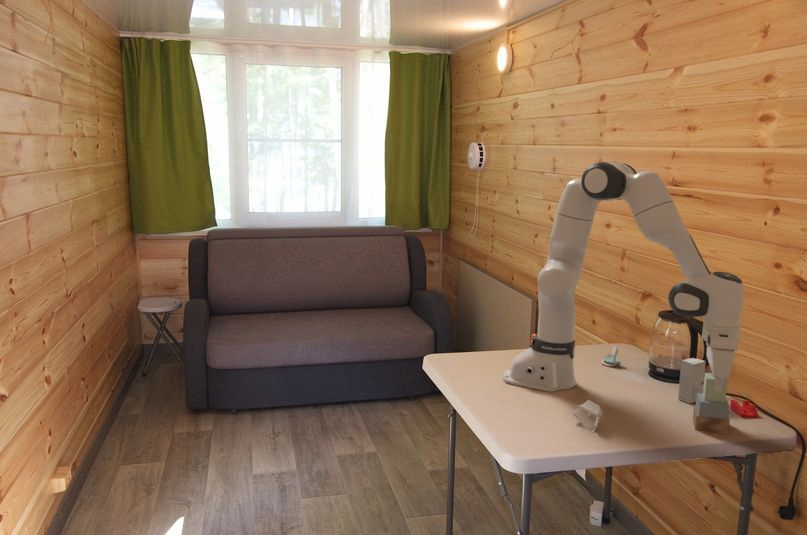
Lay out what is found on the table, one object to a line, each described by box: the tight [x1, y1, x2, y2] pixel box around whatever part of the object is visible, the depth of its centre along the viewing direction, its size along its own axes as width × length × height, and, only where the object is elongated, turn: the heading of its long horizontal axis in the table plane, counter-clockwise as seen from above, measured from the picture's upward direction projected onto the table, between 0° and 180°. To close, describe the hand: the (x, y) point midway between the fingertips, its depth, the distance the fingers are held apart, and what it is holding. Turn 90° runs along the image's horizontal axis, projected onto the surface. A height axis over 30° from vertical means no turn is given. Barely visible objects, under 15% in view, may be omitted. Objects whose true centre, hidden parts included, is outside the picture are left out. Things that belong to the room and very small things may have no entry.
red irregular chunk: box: [729, 399, 759, 419], centre depth 191 cm, size 6×5×3 cm
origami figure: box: [570, 399, 604, 433], centre depth 181 cm, size 12×8×5 cm
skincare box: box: [677, 357, 707, 404], centre depth 200 cm, size 6×4×12 cm
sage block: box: [703, 372, 728, 403], centre depth 181 cm, size 5×5×6 cm
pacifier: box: [600, 346, 622, 367], centre depth 231 cm, size 7×6×6 cm
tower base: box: [692, 404, 730, 435], centre depth 182 cm, size 8×8×4 cm
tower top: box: [695, 393, 730, 420], centre depth 181 cm, size 7×7×4 cm
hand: (714, 384), depth 181 cm, fingers open, 8 cm apart
